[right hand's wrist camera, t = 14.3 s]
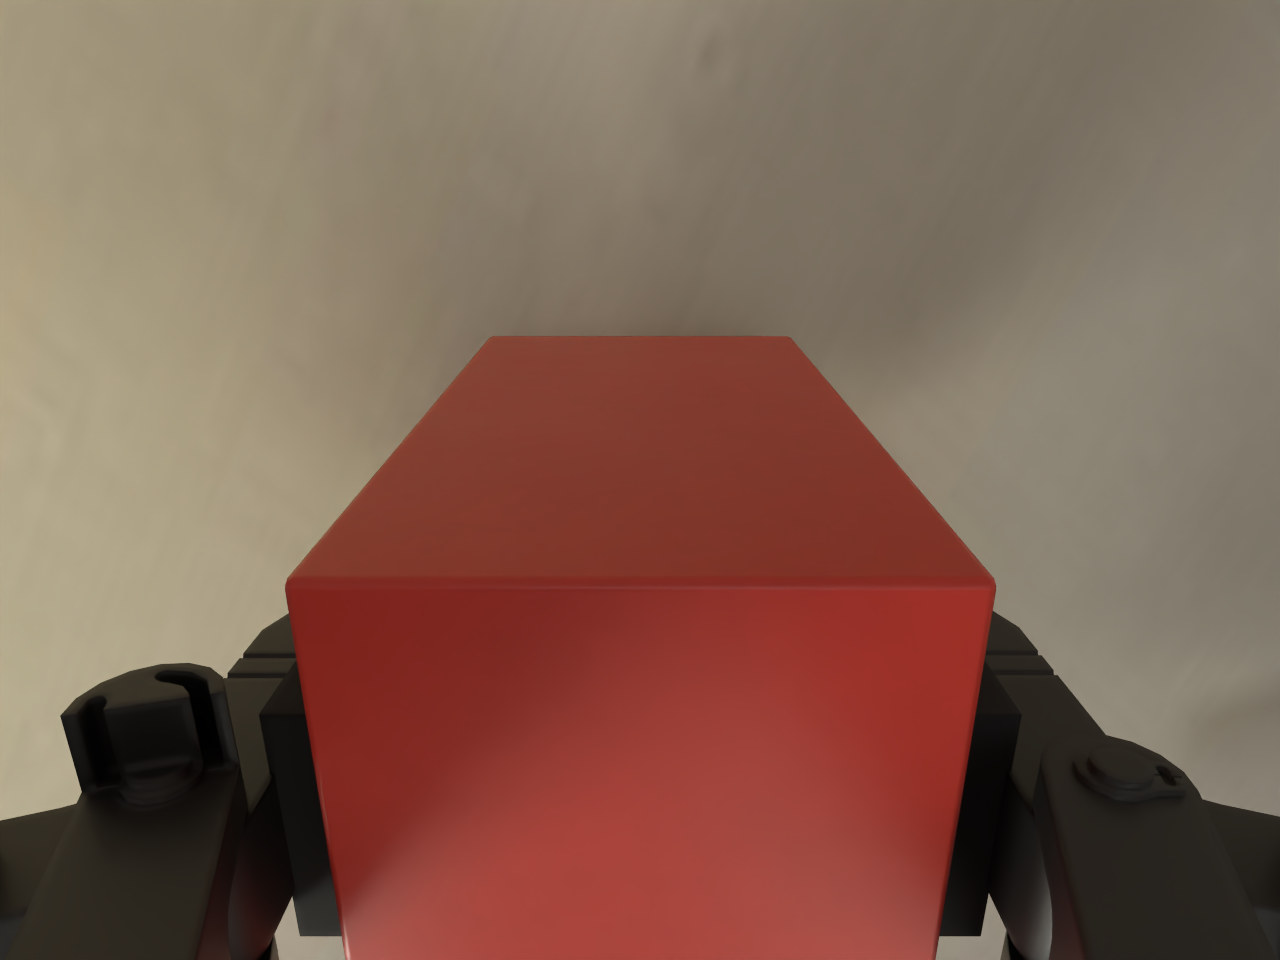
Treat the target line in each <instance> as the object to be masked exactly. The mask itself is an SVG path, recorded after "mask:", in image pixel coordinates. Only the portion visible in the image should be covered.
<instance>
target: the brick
mask: <svg viewBox="0 0 1280 960" xmlns="http://www.w3.org/2000/svg"><path fill="white" fill-rule="evenodd" d="M285 592H286V598H287V604H288V610H289V616H290V622H291V629H292V635H293V641H294V647H295V653H296V659H297V665H298V671H299V677H300V684H301V690H302V696H303V702H304V708H305V714H306V720H307V726H308V732H309V739H310V745H311V751H312V757H313V763H314V769H315V775H316V781H317V787H318V794H319V800H320V806H321V812H322V818H323V824H324V830H325V836H326V842H327V849H328V855H329V861H330V867H331V873H332V879H333V885H334V891H335V897H336V904H337V910H338V916H339V922H340V928H341V934H342V940H343V946H344V952H345V959H346V960H935V958H936V952H937V946H938V940H939V934H940V928H941V922H942V916H943V910H944V904H945V897H946V891H947V885H948V879H949V873H950V867H951V861H952V855H953V849H954V843H955V836H956V830H957V824H958V818H959V812H960V806H961V800H962V794H963V788H964V782H965V776H966V769H967V763H968V757H969V751H970V745H971V739H972V733H973V727H974V721H975V715H976V709H977V702H978V696H979V690H980V684H981V678H982V672H983V666H984V660H985V654H986V648H987V642H988V635H989V629H990V623H991V617H992V611H993V605H994V599H995V593H996V584H995V580H994V578H993V577H992V576H991V574H990V573H989V572H988V571H987V570H986V569H985V567H984V566H983V565H982V564H981V563H980V561H979V560H978V559H977V558H976V557H975V555H974V554H973V553H972V552H971V551H970V550H969V548H968V547H967V546H966V545H965V544H964V542H963V541H962V540H961V539H960V538H959V537H958V535H957V534H956V533H955V532H954V531H953V529H952V528H951V527H950V526H949V525H948V523H947V522H946V521H945V520H944V519H943V518H942V516H941V515H940V514H939V513H938V512H937V510H936V509H935V508H934V507H933V506H932V505H931V503H930V502H929V501H928V500H927V499H926V497H925V496H924V495H923V494H922V493H921V492H920V490H919V489H918V488H917V487H916V486H915V484H914V483H913V482H912V481H911V480H910V478H909V477H908V476H907V475H906V474H905V473H904V471H903V470H902V469H901V468H900V467H899V465H898V464H897V463H896V462H895V461H894V460H893V458H892V457H891V456H890V455H889V454H888V452H887V451H886V450H885V449H884V448H883V446H882V445H881V444H880V443H879V442H878V441H877V439H876V438H875V437H874V436H873V435H872V433H871V432H870V431H869V430H868V429H867V428H866V426H865V425H864V424H863V423H862V422H861V420H860V419H859V418H858V417H857V416H856V415H855V413H854V412H853V411H852V410H851V409H850V407H849V406H848V405H847V404H846V403H845V401H844V400H843V399H842V398H841V397H840V396H839V394H838V393H837V392H836V391H835V390H834V388H833V387H832V386H831V385H830V384H829V383H828V381H827V380H826V379H825V378H824V377H823V375H822V374H821V373H820V372H819V371H818V369H817V368H816V367H815V366H814V365H813V364H812V362H811V361H810V360H809V359H808V358H807V356H806V355H805V354H804V353H803V352H802V351H801V349H800V348H799V347H798V346H797V345H796V343H795V342H794V341H793V340H792V339H791V338H790V337H787V336H493V337H491V338H489V339H488V340H487V342H486V343H485V344H484V345H483V346H482V348H481V349H480V350H479V351H478V352H477V354H476V355H475V356H474V357H473V358H472V359H471V361H470V362H469V363H468V364H467V365H466V367H465V368H464V369H463V370H462V371H461V373H460V374H459V375H458V376H457V377H456V379H455V380H454V381H453V382H452V383H451V384H450V386H449V387H448V388H447V389H446V390H445V392H444V393H443V394H442V395H441V396H440V398H439V399H438V400H437V401H436V402H435V403H434V405H433V406H432V407H431V408H430V409H429V411H428V412H427V413H426V414H425V415H424V417H423V418H422V419H421V420H420V421H419V422H418V424H417V425H416V426H415V427H414V428H413V430H412V431H411V432H410V433H409V434H408V436H407V437H406V438H405V439H404V440H403V441H402V443H401V444H400V445H399V446H398V447H397V449H396V450H395V451H394V452H393V453H392V455H391V456H390V457H389V458H388V459H387V461H386V462H385V463H384V464H383V465H382V466H381V468H380V469H379V470H378V471H377V472H376V474H375V475H374V476H373V477H372V478H371V480H370V481H369V482H368V483H367V484H366V485H365V487H364V488H363V489H362V490H361V491H360V493H359V494H358V495H357V496H356V497H355V499H354V500H353V501H352V502H351V503H350V504H349V506H348V507H347V508H346V509H345V510H344V512H343V513H342V514H341V515H340V516H339V518H338V519H337V520H336V521H335V522H334V523H333V525H332V526H331V527H330V528H329V529H328V531H327V532H326V533H325V534H324V535H323V537H322V538H321V539H320V540H319V541H318V543H317V544H316V545H315V546H314V547H313V548H312V550H311V551H310V552H309V553H308V554H307V556H306V557H305V558H304V559H303V560H302V562H301V563H300V564H299V565H298V566H297V567H296V569H295V570H294V571H293V572H292V573H291V575H290V576H289V577H288V578H287V581H286V584H285Z"/></svg>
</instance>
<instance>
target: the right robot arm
mask: <svg viewBox="0 0 1280 960" xmlns="http://www.w3.org/2000/svg"><path fill="white" fill-rule="evenodd" d="M243 655H244V656H243V658H240V659H239V660H238V661H237V662H236V664H235V665H234V666H233V667H232V669H231V670H230V671H229V672H228V677H227V678H224V679H223V677H222V676H220V675H219V674H218V673H217V672H215V671H214V670H213V669H212V668H210V667H205V666H201V665H196V664H191V663H178V664H160V665H155V666H151V667H146V668H142V669H138V670H133V671H129V672H127V673H124V674H122V675H119V676H117V677H114V678H112V679H109V680H107V681H104V682H102V683H100V684H98V685H97V686H95V687H94V688H92V689H90V690H89V691H87V692H86V693H84V694H82V695H81V696H79V697H78V698H76V699H75V700H74V701H73V702H72V704H71V705H70V706H69V707H68V708H67V709H66V710H65V711H64V712H63V713H62V715H61V720H62V723H63V727H64V730H65V734H66V738H67V741H68V745H69V748H70V752H71V755H72V759H73V762H74V766H75V769H76V773H77V776H78V780H79V783H80V787H81V790H82V793H81V795H80V797H79V800H78V802H77V804H74V805H70V806H66V807H63V808H59V809H54V810H49V811H44V812H40V813H35V814H30V815H25V816H21V817H16V818H11V819H6V820H1V821H0V960H279V957H278V950H277V945H276V940H275V935H274V933H275V931H276V929H277V927H278V925H279V923H280V921H281V919H282V916H283V914H284V912H285V910H286V908H287V906H288V904H289V902H290V900H291V897H292V896H293V901H294V906H295V912H296V917H297V922H298V928H299V933H300V936H342V934H341V928H340V922H339V916H338V910H337V904H336V897H335V891H334V885H333V879H332V873H331V867H330V861H329V855H328V849H327V842H326V836H325V830H324V824H323V818H322V812H321V806H320V800H319V794H318V787H317V781H316V775H315V769H314V763H313V757H312V751H311V745H310V739H309V732H308V726H307V720H306V714H305V708H304V702H303V696H302V690H301V684H300V677H299V671H298V665H297V659H296V653H295V647H294V641H293V635H292V629H291V622H290V616H289V614H287V615H285V616H284V617H282V618H281V619H279V620H278V621H276V622H274V623H273V624H271V625H270V626H268V627H266V628H265V629H263V630H262V631H261V632H260V634H259V635H258V636H257V637H256V639H255V640H254V641H253V642H252V644H251V645H250V646H249V647H248V649H247V650H246V651H245V652H244V654H243ZM988 894H990V896H991V898H992V900H993V902H994V904H995V907H996V909H997V911H998V913H999V915H1000V917H1001V919H1002V921H1003V923H1004V926H1005V928H1006V935H1005V940H1004V945H1003V950H1002V955H1001V960H1280V817H1278V816H1273V815H1269V814H1264V813H1259V812H1254V811H1250V810H1245V809H1240V808H1235V807H1230V806H1226V805H1221V804H1217V803H1214V802H1210V801H1206V800H1203V799H1202V798H1201V796H1200V794H1199V792H1198V790H1197V789H1196V787H1195V786H1194V785H1193V783H1192V782H1191V781H1190V780H1189V778H1188V777H1187V776H1186V774H1185V773H1184V772H1183V771H1182V770H1180V769H1179V768H1178V767H1176V766H1175V765H1173V764H1172V763H1171V762H1169V761H1168V760H1167V759H1165V758H1164V757H1163V756H1161V755H1159V754H1157V753H1155V752H1153V751H1151V750H1149V749H1146V748H1144V747H1142V746H1140V745H1138V744H1136V743H1133V742H1130V741H1126V740H1123V739H1119V738H1115V737H1111V736H1107V735H1105V733H1104V732H1103V731H1102V730H1101V728H1100V727H1099V726H1098V725H1097V723H1096V722H1095V721H1094V720H1093V719H1092V717H1091V716H1090V715H1089V714H1088V712H1087V711H1086V710H1085V709H1084V707H1083V706H1082V705H1081V704H1080V702H1079V701H1078V700H1077V699H1076V697H1075V696H1074V695H1073V694H1072V693H1071V691H1070V690H1069V689H1068V688H1067V686H1066V685H1065V684H1064V683H1063V681H1062V680H1061V679H1060V678H1059V676H1058V675H1054V673H1053V669H1052V668H1051V667H1050V665H1049V664H1048V663H1047V662H1046V660H1045V659H1044V658H1043V657H1042V655H1038V650H1037V649H1036V648H1035V647H1034V645H1033V644H1032V643H1031V642H1030V641H1029V639H1028V638H1027V637H1026V636H1025V634H1024V633H1023V632H1022V631H1021V629H1020V628H1019V627H1017V626H1016V625H1014V624H1013V623H1011V622H1010V621H1008V620H1006V619H1005V618H1003V617H1002V616H1000V615H998V614H997V613H995V612H994V611H992V617H991V623H990V629H989V635H988V642H987V648H986V654H985V660H984V666H983V672H982V678H981V684H980V690H979V696H978V702H977V709H976V715H975V721H974V727H973V733H972V739H971V745H970V751H969V757H968V763H967V769H966V776H965V782H964V788H963V794H962V800H961V806H960V812H959V818H958V824H957V830H956V836H955V843H954V849H953V855H952V861H951V867H950V873H949V879H948V885H947V891H946V897H945V904H944V910H943V916H942V922H941V928H940V934H939V936H981V931H982V926H983V920H984V915H985V910H986V904H987V899H988Z"/></svg>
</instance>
